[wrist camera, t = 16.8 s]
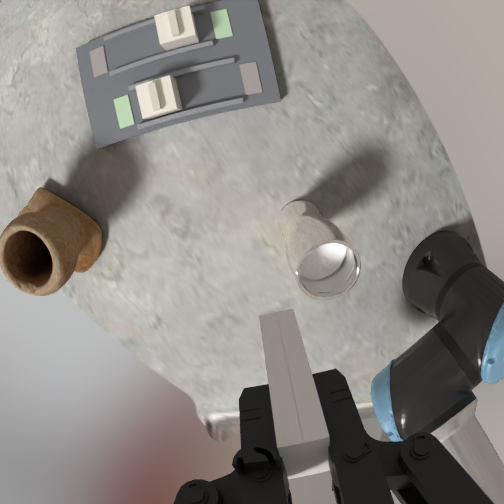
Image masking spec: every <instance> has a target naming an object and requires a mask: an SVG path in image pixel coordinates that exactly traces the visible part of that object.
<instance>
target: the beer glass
mask: <svg viewBox="0 0 504 504" xmlns="http://www.w3.org/2000/svg"><path fill="white" fill-rule="evenodd" d="M278 226H279V229H280V232H281V233H282V235H283V236H284V237H285V238H286V240H285V248H286V257H287V260H288V264H289V266H290V269H291V271H292V273H293V275H294V277H295V279H296V281H297V283H298V285H299V287H300V289H301V290H302V291H303V292H304V293H305V294H306V295H307V296H309V297H311V298H314V299H317V300H330V299H334V298H337V297H339V296H341V295H343V294H345V293H346V292H347V291H349V290H350V289H351V288H352V287H353V285H354V284H355V283H356V281H357V279H358V277H359V274H360V269H361V262H360V257H359V255H358V253H357V251H356V250H355V249H354V247H353V245H352V244H351V242H350V241H349V239H348V238H347V236H346V235H345V234H344V233H343V231H342V230H341V229H340V228H339V227H338V226H336V225H335V224H334V223H332V222H331V221H329V220H327V219H325V218H323V217H321V214H320V212H319V210H318V209H317V207H316V206H315V205H314V204H312V203H310V202H308V201H304V200H297V201H293V202H291V203H289V204H287V205H286V206H285V207H284V208H283V209H282V211H281V213H280V215H279V218H278Z"/></svg>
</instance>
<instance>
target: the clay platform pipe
mask: <svg viewBox="0 0 504 504" xmlns="http://www.w3.org/2000/svg"><path fill="white" fill-rule="evenodd" d="M101 237H102V231H101V229H100V227H99V226H98V224H97V223H96V222H95V221H94V220H93V219H91V218H90V217H89V216H87V215H86V214H85V213H84V212H82V211H81V210H79V209H78V208H76V207H74V206H72V205H71V204H69V203H68V202H66V201H64V200H63V199H61V198H59V197H57V196H56V195H54V194H52V193H51V192H49V191H47V190H46V189H43V188H41V187H40V188H39V189H38V190H37V191H36V192H35V193H34V195H33V197H32V198H31V200H30V201H29V203H28V205H27V206H26V207H24V208H23V210H22V211H21V212H20V213H19V215H18V217H17V218H15V219H14V220H12V221H11V222H10V224H9V225H8V226H7V227H6V228H5V230H4V231H3V233H2V235H1V237H0V267H1V268H2V271H3V273H4V275H5V276H6V278H7V279H8V280H9V281H10V282H11V283H12V284H13V285H14V286H15V287H16V288H18V289H19V290H21V291H24V292H26V293H28V294H31V295H40V296H45V295H50V294H52V293H54V292H56V291H57V290H59V289H60V288H61V287H62V286H63V285H64V284H65V283H66V282H67V281H68V280H69V278H70V277H71V275H72V274H73V272H74V271H75V272H79V273H83V272H85V271H87V270H89V268H90V267H91V266H92V265H93V264H94V262H95V261H96V260H97V258H98V256H99V253H100V250H101V247H102V240H101Z"/></svg>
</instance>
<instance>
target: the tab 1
mask: <svg viewBox="0 0 504 504" xmlns="http://www.w3.org/2000/svg"><path fill="white" fill-rule="evenodd" d="M154 17H155V22H156V27H157V32H158V37H159V42H160V45H161V46H162V47H163V48H164V49H165V50H166V51H170V50H174V49H178V48H181V47H185V46H189V45H193V44H197V43H199V39H198V34H197V30H196V25H195V21H194V16H193V13H192V11H191V8H190V6H186V7H182V8H178V9H175V10H171V11H167V12H164V13H161V14H157V15H154Z"/></svg>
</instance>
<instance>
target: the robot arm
mask: <svg viewBox="0 0 504 504" xmlns="http://www.w3.org/2000/svg"><path fill="white" fill-rule="evenodd" d="M402 284H403V291H404V294H405V296H406V298H407V299H408V301H409V302H410V303H411V304H412V305H413V307H415V308H416V309H417V310H419V311H421V312H424V313H426V314H428V315H429V316H431V317H433V318H435V319H437V320H438V321H439V323H438V324H436V325H435V326H434V327H433V328H432V329H431V330H430V331H429V332H427V333H426V334H425V335H424V336H423V337H422V338H421V339H419V340H418V341H417V342H416V343H415V344H414V345H412V346H411V347H410V348H409V349H408V350H406V351H405V352H404V353H403V354H401V355H400V356H399V357H398V358H396V359H394V360H392V361H391V362H390V363H389V365H388V366H387V367H385V368H384V369H383V370H382V371H381V372H380V373H378V374H377V375H376V376H375V377H374V379H373V381H372V384H371V399H372V403H373V407H374V410H375V413H376V416H377V418H378V420H379V422H380V424H381V426H382V428H383V430H384V431H385V432H387V434H388V437H389V438H390V439H391V440H392V441H393V442H382V441H378V440H375V439H373V438H371V437H370V436H369V435H368V434H367V433H366V431H365V429H364V427H363V424H362V421H361V419H360V416H359V413H358V410H357V408H356V405H355V402H354V400H353V398H352V394H351V392H350V390H349V386H348V384H347V381H346V378H345V377H344V376H343V375H342V374H341V373H340V372H339V371H338V370H337V369H332V370H328V371H324V372H320V373H316V374H312V372H311V369H310V365H309V362H308V358H307V355H306V351H305V348H304V344H303V341H302V337H301V334H300V331H299V327H298V324H297V320H296V317H295V314H294V310H293V309H290V310H285V311H280V312H275V313H270V314H265V315H260V316H259V317H260V325H261V332H262V340H263V347H264V354H265V362H266V369H267V376H268V384H267V385H261V386H255V387H249V388H244V389H243V392H242V394H241V396H240V398H239V411H240V434H241V449H240V450H239V451H238V452H237V454H236V455H235V456H234V458H233V463H232V465H233V467H234V468H235V470H234V471H233V472H232V473H230V474H228V475H226V476H224V477H221V478H219V479H216V480H213V481H211V482H208V481H205V480H192V481H189V482H187V483H185V484H184V485H183V486H181V488H180V490H179V491H178V493H177V496H176V499H175V502H174V504H292V497H291V493H290V490H289V483H288V479H291V478H297V477H302V476H307V475H312V474H317V473H321V472H325V471H330V472H331V476H332V491H334V494H335V498H336V503H337V504H394V501H393V498H392V495H391V492H390V490H392V491H393V493H394V494H395V496H396V497H397V499H398V500H399V501H400V503H401V504H504V465H503V463H502V461H501V459H500V458H499V456H498V454H497V452H496V450H495V449H494V447H493V445H492V443H491V442H490V440H489V438H488V437H487V435H486V433H485V431H484V430H483V428H482V427H481V425H480V423H479V422H478V420H477V418H476V417H475V410H476V405H477V401H478V400H477V398H476V397H475V395H474V394H473V392H472V389H473V388H474V387H475V386H477V385H478V384H479V383H480V382H481V381H482V380H483V381H484V382H485V383H488V384H495V383H497V382H498V381H499V380H500V379H503V378H504V282H503V281H502V280H501V279H500V278H498V277H497V276H496V275H495V274H493V273H492V272H491V271H489V270H488V269H487V268H486V267H484V266H483V265H482V264H481V263H480V261H479V260H478V258H477V256H476V255H475V254H474V253H473V250H472V248H471V246H470V244H469V243H468V242H467V241H466V240H465V239H464V238H462V237H461V236H459V235H458V234H456V233H454V232H451V231H442V232H438V233H435V234H433V235H431V236H430V237H428V238H427V239H425V240H424V241H423V242H422V243H421V244H420V245H419V246H418V247H417V248H416V249H415V251H414V252H413V253H412V255H411V256H410V258H409V260H408V262H407V264H406V267H405V270H404V274H403V283H402Z"/></svg>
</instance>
